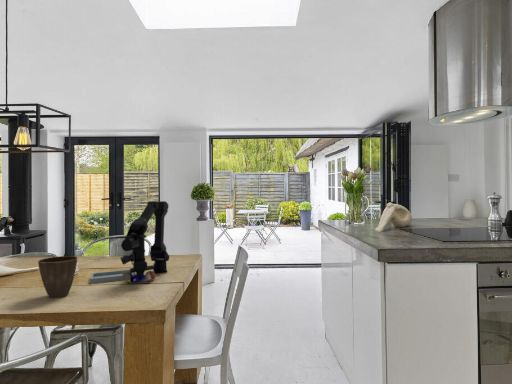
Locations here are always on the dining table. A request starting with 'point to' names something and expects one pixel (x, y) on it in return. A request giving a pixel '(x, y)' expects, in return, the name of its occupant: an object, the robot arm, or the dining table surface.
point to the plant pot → (57, 274)
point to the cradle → (109, 276)
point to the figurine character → (128, 276)
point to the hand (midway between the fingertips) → (139, 279)
